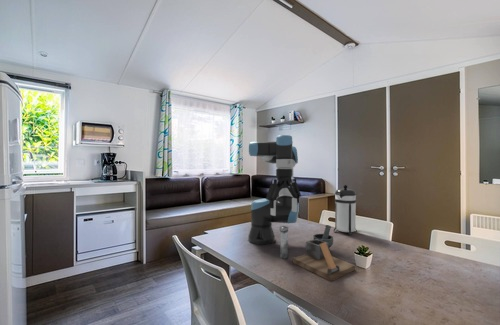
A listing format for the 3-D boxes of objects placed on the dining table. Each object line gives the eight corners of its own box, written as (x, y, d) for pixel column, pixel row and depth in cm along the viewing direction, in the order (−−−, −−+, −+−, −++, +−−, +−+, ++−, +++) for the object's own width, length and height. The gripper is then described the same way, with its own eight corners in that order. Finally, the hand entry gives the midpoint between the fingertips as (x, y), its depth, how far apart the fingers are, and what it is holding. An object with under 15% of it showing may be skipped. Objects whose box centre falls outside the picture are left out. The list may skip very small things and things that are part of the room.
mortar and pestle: (326, 255, 116) (326, 230, 116) (309, 250, 123) (309, 226, 123) (337, 249, 123) (338, 226, 123) (321, 244, 130) (321, 222, 130)
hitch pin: (277, 256, 114) (278, 227, 114) (284, 254, 117) (284, 225, 116) (283, 259, 111) (283, 229, 111) (290, 257, 113) (290, 227, 113)
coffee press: (364, 235, 145) (364, 186, 145) (337, 235, 145) (337, 186, 145) (352, 227, 163) (352, 183, 162) (328, 227, 163) (328, 183, 162)
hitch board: (293, 262, 107) (293, 244, 107) (316, 254, 117) (316, 238, 117) (331, 281, 91) (331, 260, 91) (355, 270, 100) (355, 251, 100)
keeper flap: (318, 244, 98) (320, 243, 97) (324, 242, 100) (326, 241, 99) (329, 273, 93) (332, 272, 93) (336, 270, 96) (338, 270, 95)
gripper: (268, 169, 103) (268, 218, 103) (308, 168, 117) (308, 211, 117) (258, 168, 109) (258, 215, 109) (297, 167, 123) (296, 209, 124)
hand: (284, 213), depth 113 cm, fingers open, 13 cm apart
